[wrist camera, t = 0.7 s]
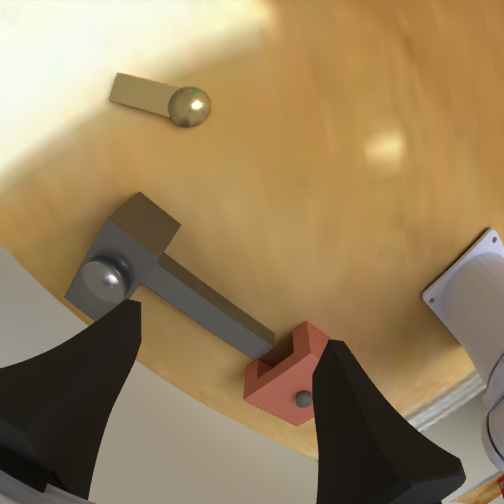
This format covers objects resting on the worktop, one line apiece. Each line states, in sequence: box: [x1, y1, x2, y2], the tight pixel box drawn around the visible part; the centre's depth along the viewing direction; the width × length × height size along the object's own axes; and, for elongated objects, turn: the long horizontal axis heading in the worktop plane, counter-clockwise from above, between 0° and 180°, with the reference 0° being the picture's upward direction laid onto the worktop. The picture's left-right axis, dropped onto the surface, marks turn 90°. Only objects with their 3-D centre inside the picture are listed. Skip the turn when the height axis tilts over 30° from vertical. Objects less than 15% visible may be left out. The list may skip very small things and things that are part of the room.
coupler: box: [65, 192, 274, 361], centre depth 20 cm, size 14×7×6 cm, turn 49°
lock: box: [243, 321, 355, 426], centre depth 24 cm, size 6×7×4 cm
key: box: [109, 73, 211, 127], centre depth 17 cm, size 6×2×1 cm, turn 69°
